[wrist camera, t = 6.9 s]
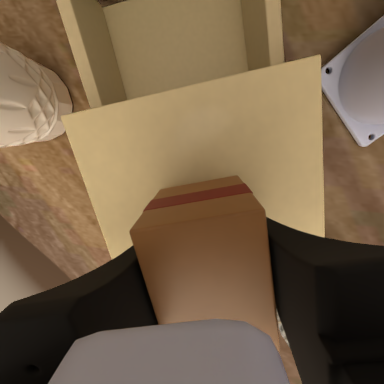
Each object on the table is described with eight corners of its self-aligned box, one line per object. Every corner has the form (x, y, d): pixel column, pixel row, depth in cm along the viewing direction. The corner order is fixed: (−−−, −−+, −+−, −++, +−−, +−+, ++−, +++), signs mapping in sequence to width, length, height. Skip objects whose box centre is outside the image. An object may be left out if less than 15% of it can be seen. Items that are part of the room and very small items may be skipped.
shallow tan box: (117, 122, 19) (59, 115, 11) (269, 87, 18) (321, 53, 10) (155, 254, 23) (131, 316, 15) (282, 235, 22) (326, 293, 14)
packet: (159, 188, 11) (126, 230, 6) (238, 174, 11) (266, 207, 6) (181, 277, 13) (169, 363, 8) (251, 268, 12) (281, 353, 8)
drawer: (58, -97, 14) (-50, -266, 8) (242, -164, 13) (277, -428, 7) (130, 156, 19) (96, 168, 13) (269, 128, 18) (303, 126, 12)
